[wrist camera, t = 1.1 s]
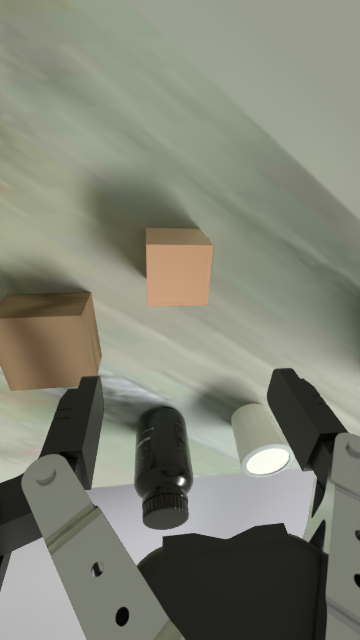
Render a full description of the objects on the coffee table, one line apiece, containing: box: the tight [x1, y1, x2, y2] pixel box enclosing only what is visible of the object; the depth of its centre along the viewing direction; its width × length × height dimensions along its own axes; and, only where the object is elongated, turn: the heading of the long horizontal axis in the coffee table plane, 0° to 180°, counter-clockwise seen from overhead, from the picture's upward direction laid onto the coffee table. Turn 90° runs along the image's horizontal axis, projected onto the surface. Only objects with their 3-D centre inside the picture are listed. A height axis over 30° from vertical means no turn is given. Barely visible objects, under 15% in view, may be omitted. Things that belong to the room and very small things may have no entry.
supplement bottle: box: [134, 408, 193, 530], centre depth 33 cm, size 7×7×12 cm
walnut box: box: [0, 292, 102, 391], centre depth 27 cm, size 8×8×5 cm
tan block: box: [146, 228, 214, 306], centre depth 24 cm, size 5×5×6 cm
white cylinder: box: [231, 403, 294, 477], centre depth 37 cm, size 7×7×7 cm
